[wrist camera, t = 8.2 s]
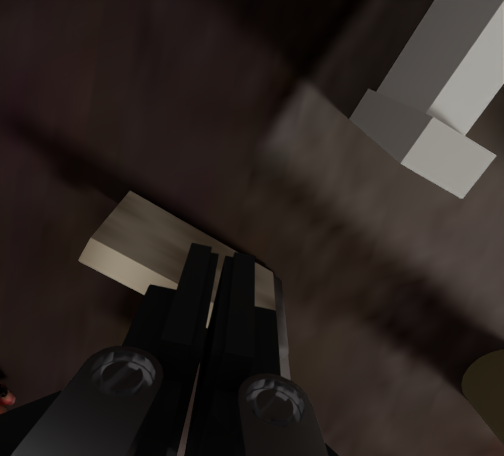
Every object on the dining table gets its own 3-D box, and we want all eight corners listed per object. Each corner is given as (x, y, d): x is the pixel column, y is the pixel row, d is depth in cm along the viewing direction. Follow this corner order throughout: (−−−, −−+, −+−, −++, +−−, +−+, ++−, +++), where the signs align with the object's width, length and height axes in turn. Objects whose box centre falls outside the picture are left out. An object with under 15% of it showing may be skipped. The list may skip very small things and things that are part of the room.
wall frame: (231, 377, 34) (221, 503, 25) (196, 362, 33) (173, 486, 24) (503, -23, 23) (670, -65, 13) (458, -55, 22) (600, -122, 13)
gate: (286, 280, 30) (294, 346, 23) (267, 303, 30) (270, 374, 24) (130, 190, 27) (90, 237, 21) (114, 218, 28) (71, 272, 21)
